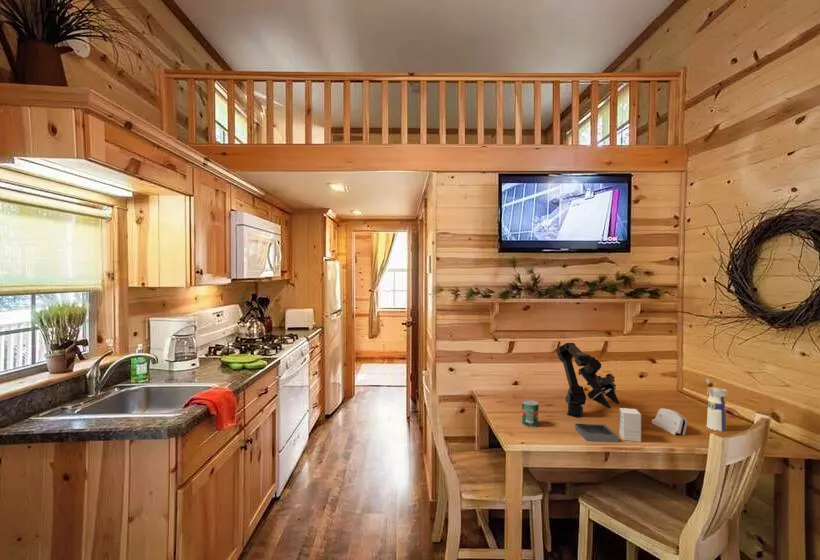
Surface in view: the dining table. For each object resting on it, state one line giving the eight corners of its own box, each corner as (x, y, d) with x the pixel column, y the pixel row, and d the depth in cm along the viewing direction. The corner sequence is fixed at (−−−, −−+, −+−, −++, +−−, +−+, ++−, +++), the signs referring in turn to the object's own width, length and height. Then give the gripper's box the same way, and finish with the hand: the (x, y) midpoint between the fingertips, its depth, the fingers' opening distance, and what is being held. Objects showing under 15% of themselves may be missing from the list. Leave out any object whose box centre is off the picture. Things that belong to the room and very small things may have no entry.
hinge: (650, 422, 197) (657, 403, 197) (659, 425, 197) (665, 406, 197) (674, 435, 180) (681, 415, 180) (683, 438, 180) (691, 418, 180)
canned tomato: (519, 421, 197) (519, 400, 197) (534, 421, 197) (534, 399, 197) (525, 427, 189) (525, 405, 189) (541, 427, 189) (541, 404, 189)
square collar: (575, 428, 187) (575, 423, 187) (604, 429, 186) (604, 424, 186) (586, 440, 173) (586, 435, 173) (618, 442, 172) (618, 436, 172)
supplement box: (636, 435, 179) (636, 408, 179) (641, 442, 172) (641, 414, 172) (618, 434, 181) (619, 407, 181) (623, 440, 174) (623, 412, 174)
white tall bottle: (719, 432, 184) (720, 380, 184) (701, 426, 192) (702, 376, 192) (732, 430, 186) (732, 379, 186) (713, 424, 194) (714, 374, 194)
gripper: (594, 371, 180) (618, 400, 172) (612, 365, 192) (635, 393, 183) (577, 384, 186) (600, 413, 178) (596, 378, 198) (618, 405, 189)
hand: (614, 406), depth 182 cm, fingers open, 9 cm apart
